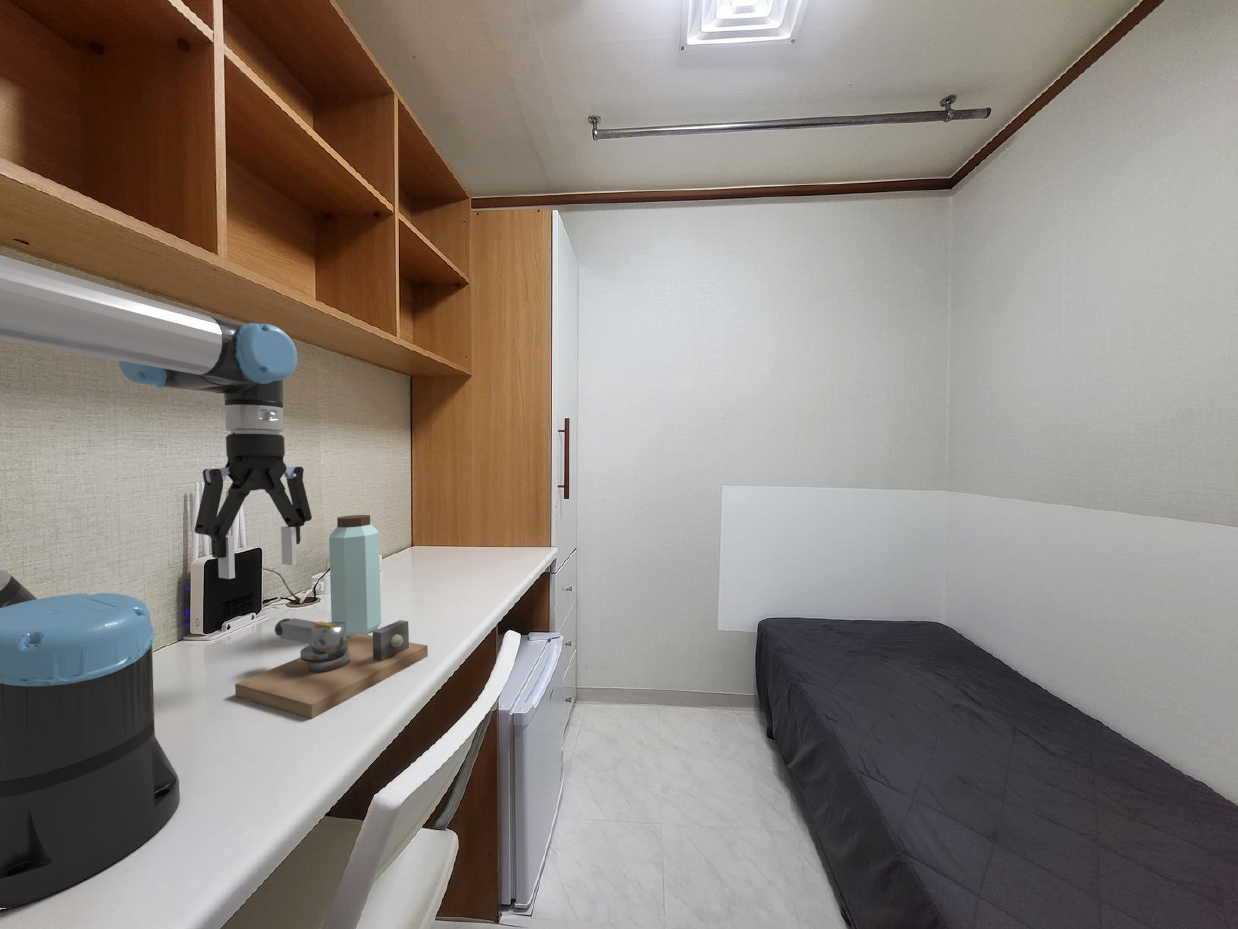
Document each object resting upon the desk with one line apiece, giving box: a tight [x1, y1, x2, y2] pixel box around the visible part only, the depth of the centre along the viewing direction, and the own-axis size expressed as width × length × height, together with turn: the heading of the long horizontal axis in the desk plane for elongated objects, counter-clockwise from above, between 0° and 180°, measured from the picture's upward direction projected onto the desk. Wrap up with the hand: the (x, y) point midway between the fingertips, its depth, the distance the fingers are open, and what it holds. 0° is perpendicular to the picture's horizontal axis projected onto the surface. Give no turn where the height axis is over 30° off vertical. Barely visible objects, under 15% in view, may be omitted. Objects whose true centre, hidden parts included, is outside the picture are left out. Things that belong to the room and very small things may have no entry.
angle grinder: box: [274, 618, 348, 662], centre depth 81 cm, size 16×7×5 cm, turn 68°
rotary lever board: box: [234, 619, 429, 719], centre depth 80 cm, size 22×18×7 cm
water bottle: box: [328, 514, 382, 639], centre depth 100 cm, size 10×10×25 cm
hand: (260, 570), depth 76 cm, fingers open, 9 cm apart
